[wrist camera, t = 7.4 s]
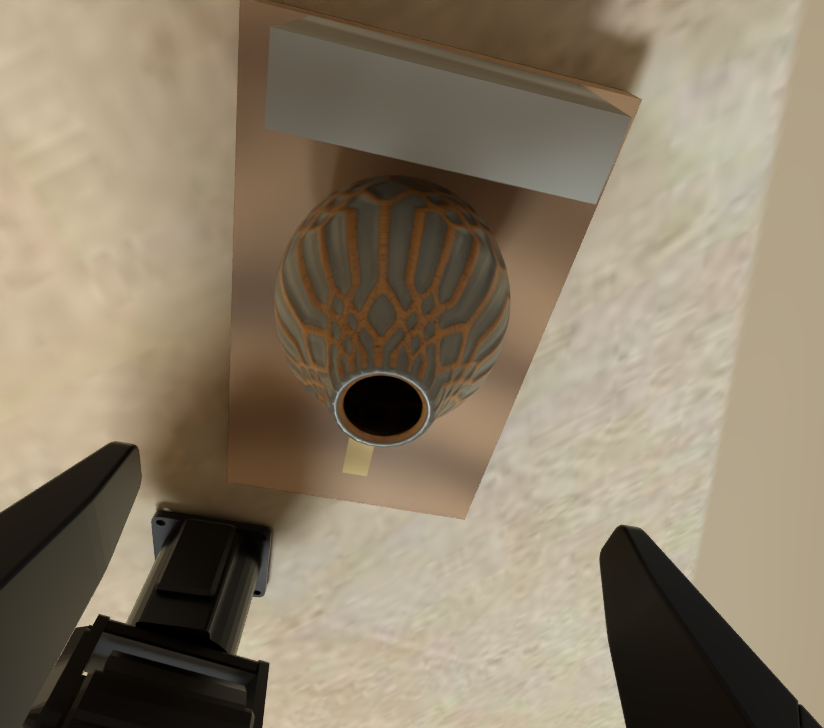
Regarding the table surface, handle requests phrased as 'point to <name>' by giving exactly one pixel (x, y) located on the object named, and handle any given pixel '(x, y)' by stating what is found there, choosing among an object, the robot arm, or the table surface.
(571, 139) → the wooden board with block
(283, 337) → the vase
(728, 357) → the table surface
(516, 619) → the table surface
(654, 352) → the table surface
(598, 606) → the table surface
